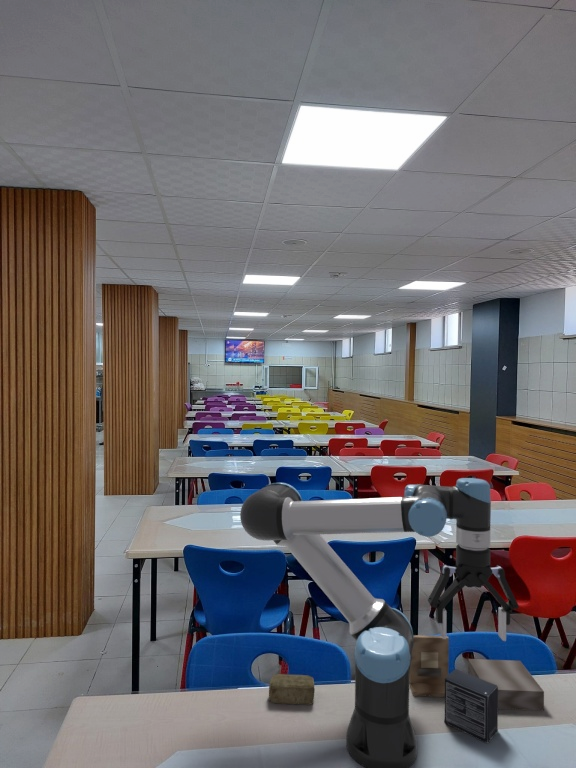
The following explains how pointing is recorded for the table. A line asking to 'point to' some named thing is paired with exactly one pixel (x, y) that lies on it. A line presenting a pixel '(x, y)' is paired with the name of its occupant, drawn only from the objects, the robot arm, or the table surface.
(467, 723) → the small box
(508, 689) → the base block
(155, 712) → the table surface
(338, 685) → the table surface
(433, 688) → the stand
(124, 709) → the table surface
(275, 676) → the stone block
